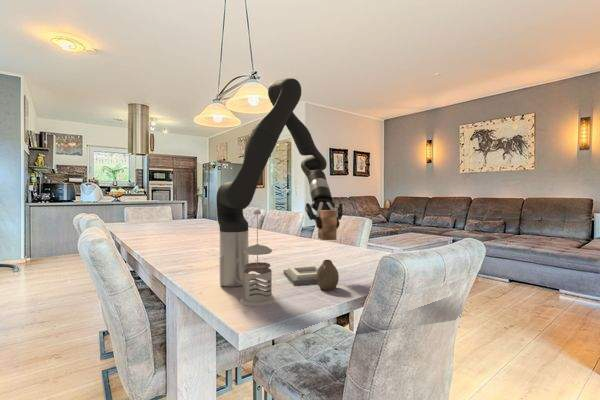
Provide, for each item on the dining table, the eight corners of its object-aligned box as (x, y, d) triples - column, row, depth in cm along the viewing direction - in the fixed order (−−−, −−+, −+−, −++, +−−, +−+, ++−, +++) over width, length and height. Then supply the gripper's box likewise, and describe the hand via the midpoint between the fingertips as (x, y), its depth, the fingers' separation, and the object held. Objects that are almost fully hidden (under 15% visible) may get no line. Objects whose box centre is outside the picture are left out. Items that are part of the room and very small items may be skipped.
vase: (323, 293, 92) (323, 263, 91) (312, 287, 98) (312, 259, 97) (343, 289, 95) (343, 261, 94) (330, 283, 101) (330, 257, 101)
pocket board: (293, 285, 99) (293, 276, 99) (283, 274, 113) (283, 266, 113) (334, 281, 103) (334, 273, 103) (319, 271, 117) (319, 264, 117)
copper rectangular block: (322, 240, 105) (323, 210, 105) (317, 238, 110) (318, 210, 110) (336, 239, 106) (336, 210, 106) (331, 237, 111) (331, 210, 111)
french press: (279, 303, 83) (279, 210, 82) (236, 309, 79) (235, 211, 78) (270, 292, 92) (270, 208, 92) (230, 297, 88) (230, 209, 88)
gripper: (303, 185, 114) (310, 220, 102) (340, 185, 116) (351, 220, 105) (300, 199, 119) (306, 234, 107) (336, 199, 122) (346, 234, 110)
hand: (328, 227), depth 106 cm, fingers closed on copper rectangular block, 5 cm apart
